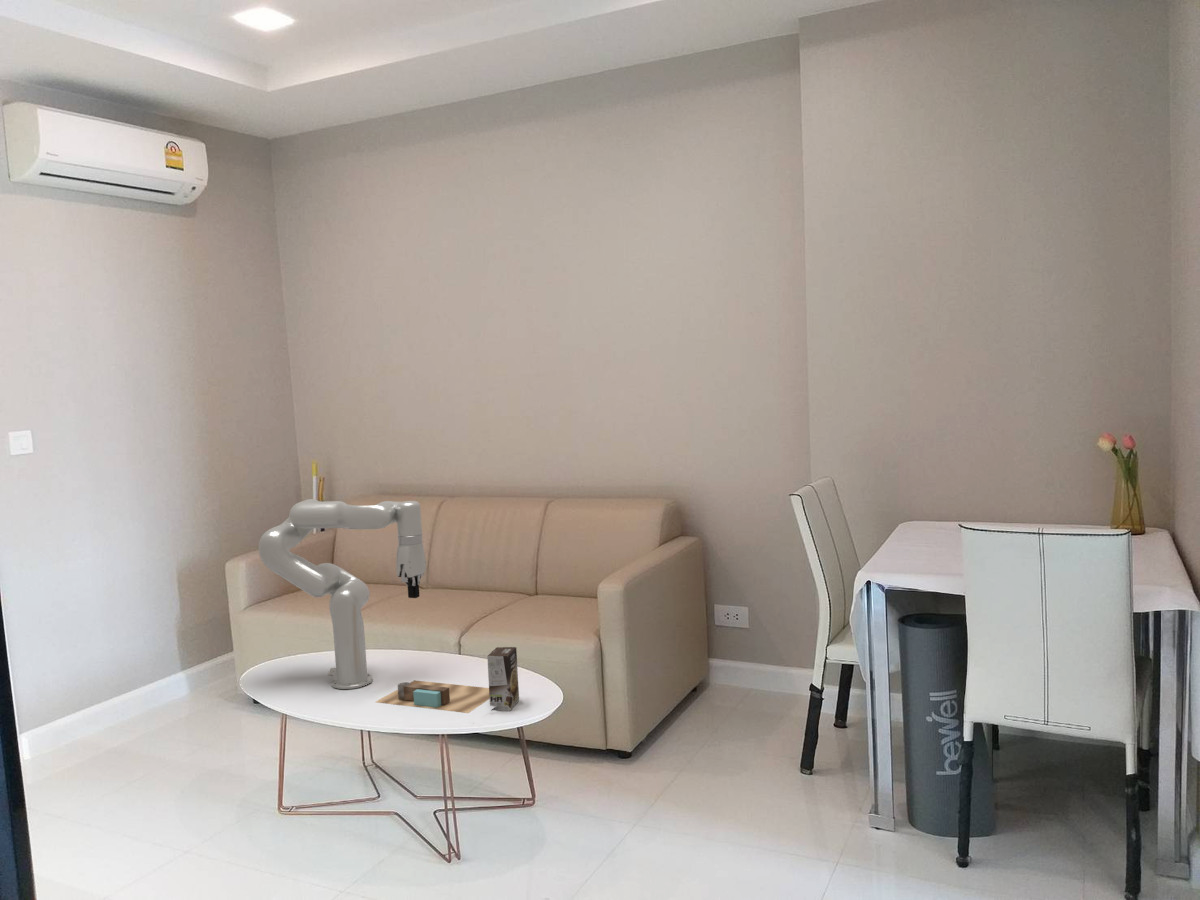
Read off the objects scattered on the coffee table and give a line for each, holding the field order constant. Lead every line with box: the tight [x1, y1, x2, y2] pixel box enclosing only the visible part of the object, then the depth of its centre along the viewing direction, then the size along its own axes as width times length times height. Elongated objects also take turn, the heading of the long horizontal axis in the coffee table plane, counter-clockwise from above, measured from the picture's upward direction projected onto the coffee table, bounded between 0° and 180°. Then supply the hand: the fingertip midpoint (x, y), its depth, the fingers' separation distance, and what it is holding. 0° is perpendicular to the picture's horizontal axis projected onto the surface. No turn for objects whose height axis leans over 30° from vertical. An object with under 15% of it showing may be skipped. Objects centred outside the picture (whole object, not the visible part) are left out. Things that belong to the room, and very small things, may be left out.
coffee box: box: [487, 646, 520, 712], centre depth 261 cm, size 9×6×16 cm
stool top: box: [375, 680, 490, 714], centre depth 268 cm, size 32×20×2 cm, turn 67°
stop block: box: [413, 689, 441, 708], centre depth 260 cm, size 8×2×4 cm, turn 67°
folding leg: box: [397, 681, 450, 705], centre depth 264 cm, size 17×4×4 cm, turn 66°
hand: (413, 597), depth 286 cm, fingers closed
